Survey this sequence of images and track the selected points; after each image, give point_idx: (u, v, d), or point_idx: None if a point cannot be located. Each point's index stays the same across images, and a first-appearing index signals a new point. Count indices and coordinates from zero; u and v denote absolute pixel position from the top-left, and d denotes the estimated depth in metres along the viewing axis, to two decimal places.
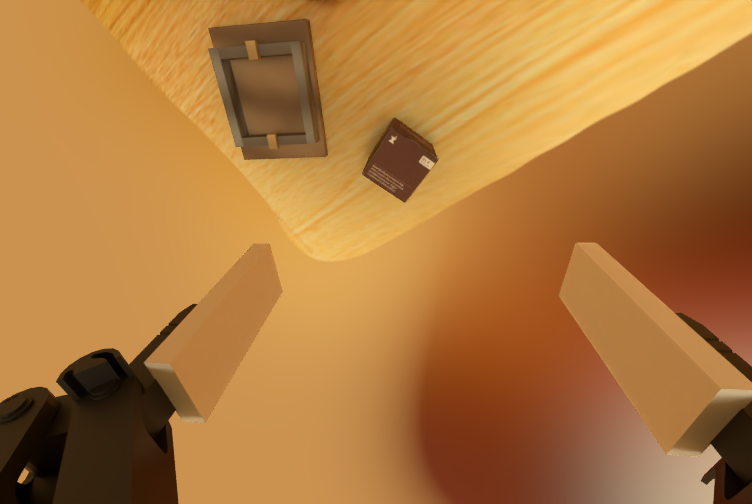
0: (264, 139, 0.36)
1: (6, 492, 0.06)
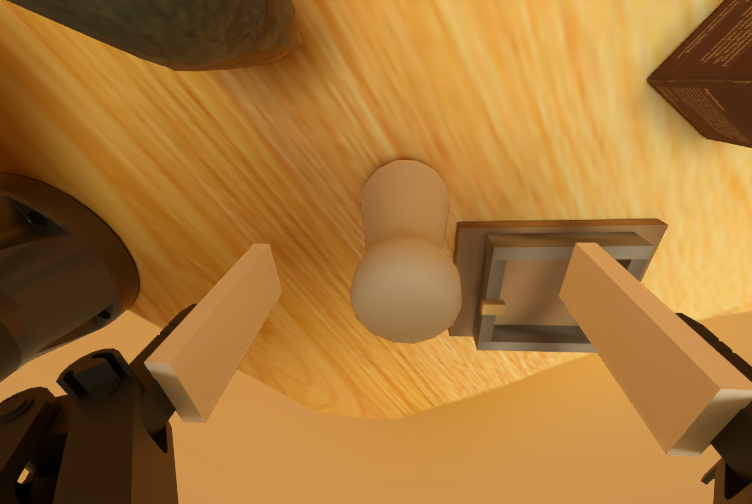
0: None
1: (6, 492, 0.06)
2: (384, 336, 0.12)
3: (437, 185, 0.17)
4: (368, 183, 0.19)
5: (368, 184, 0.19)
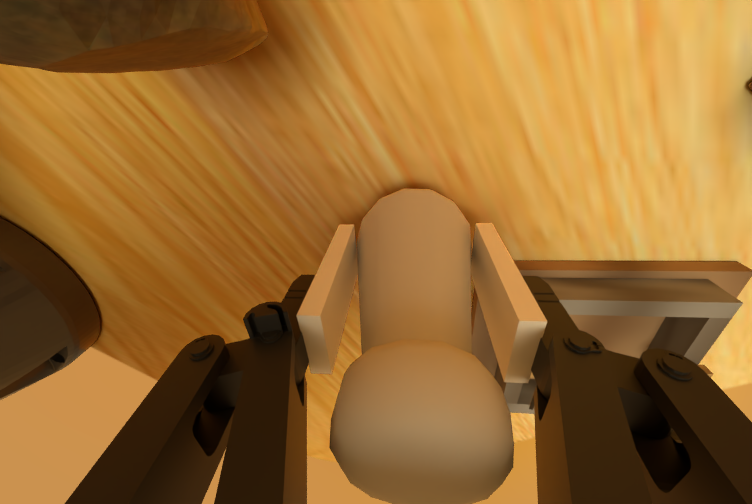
0: None
1: (188, 425, 0.07)
2: (384, 500, 0.07)
3: (458, 225, 0.13)
4: (366, 218, 0.14)
5: (366, 220, 0.14)
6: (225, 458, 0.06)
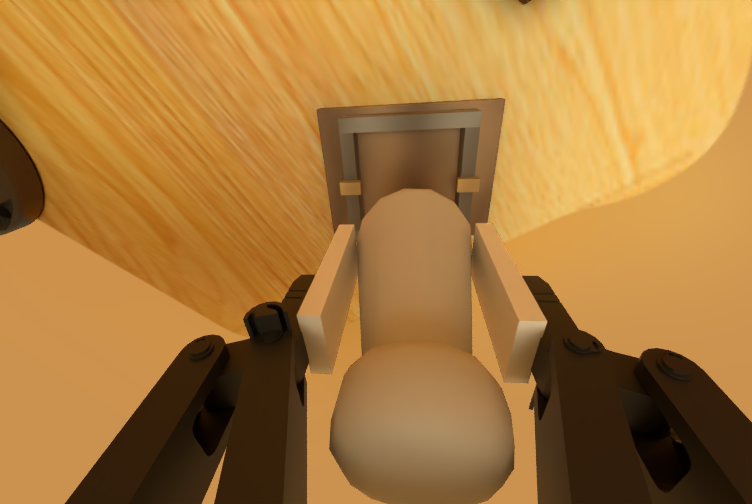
0: (463, 197, 0.23)
1: (188, 425, 0.07)
2: (384, 502, 0.07)
3: (458, 226, 0.13)
4: (366, 219, 0.14)
5: (366, 220, 0.14)
6: (225, 458, 0.06)
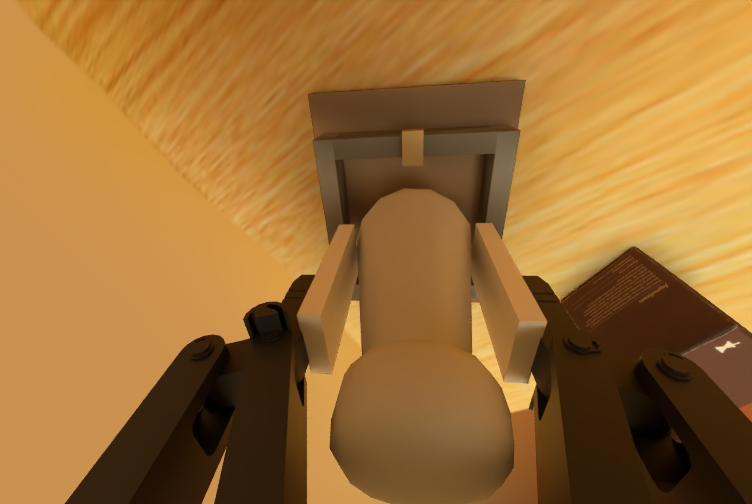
0: None
1: (188, 425, 0.07)
2: (384, 501, 0.07)
3: (458, 226, 0.13)
4: (366, 219, 0.14)
5: (366, 220, 0.14)
6: (225, 458, 0.06)
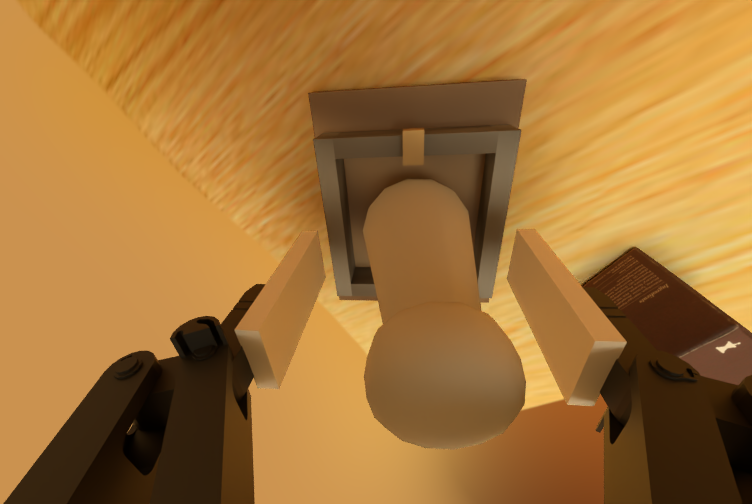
0: None
1: (116, 445, 0.07)
2: (413, 442, 0.08)
3: (459, 211, 0.14)
4: (373, 207, 0.15)
5: (373, 209, 0.15)
6: (154, 486, 0.06)
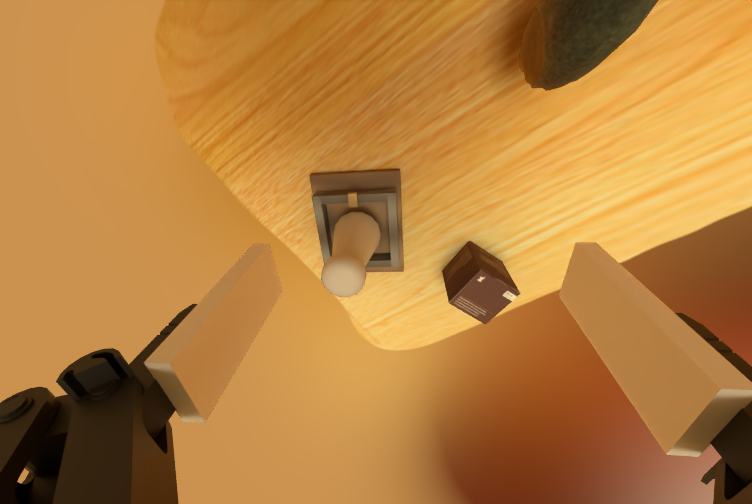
0: None
1: (6, 492, 0.06)
2: (335, 293, 0.29)
3: (370, 226, 0.35)
4: (336, 224, 0.36)
5: (336, 224, 0.36)
6: None
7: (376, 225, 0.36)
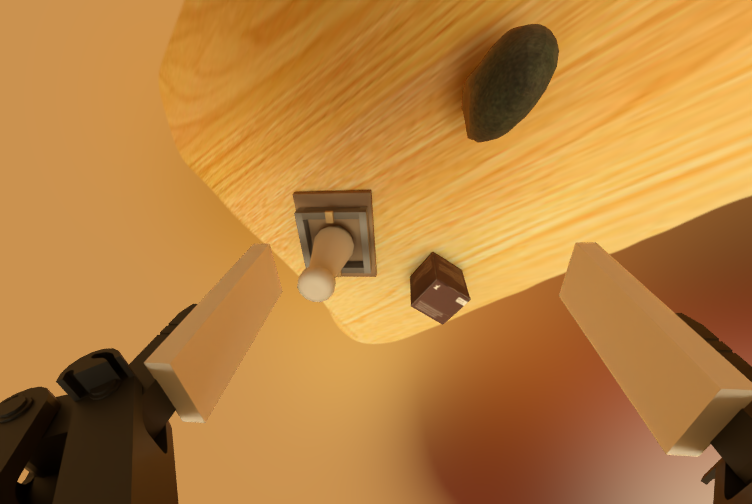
0: None
1: (6, 492, 0.06)
2: (308, 299, 0.35)
3: (343, 239, 0.40)
4: (315, 237, 0.42)
5: (315, 237, 0.42)
6: None
7: (349, 238, 0.42)
